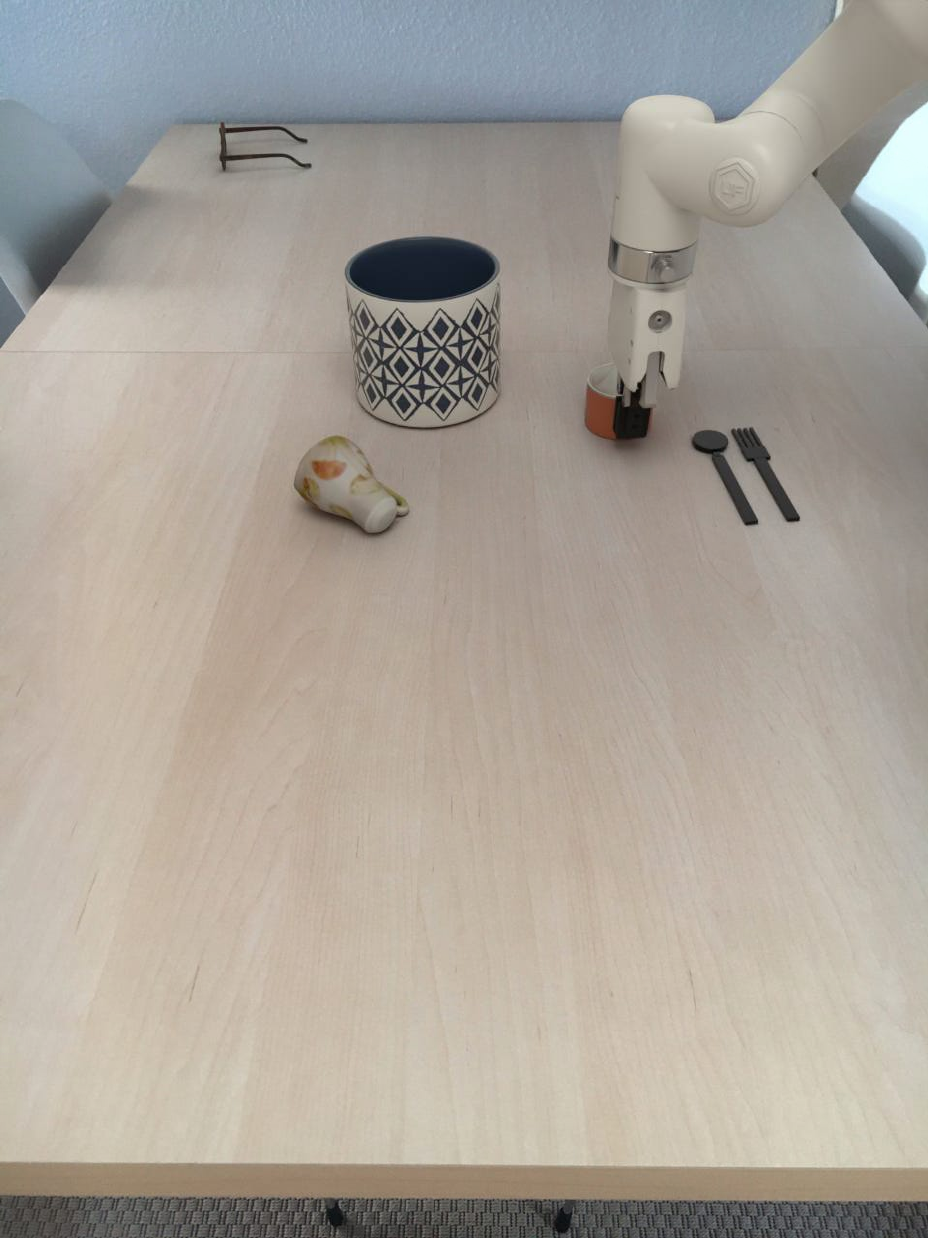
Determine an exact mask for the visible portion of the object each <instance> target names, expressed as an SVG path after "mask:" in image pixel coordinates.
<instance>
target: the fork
mask: <svg viewBox="0 0 928 1238" xmlns="http://www.w3.org/2000/svg"><path fill="white" fill-rule="evenodd" d="M730 432H731V434H732V436H733V438H734V439H735V441H736V442H737V445H738V446H739V448H740V450H741V454H742V455H743V457H744V459H745V461H746V462H752V463H753V464H754V466H755V467H756V469H757V471H758V473H759V475H760V476H761V478H762V480H763V481H764V484H765V485H766V487H767V489H768V491H769V493H770V494H771V496H772V498H773V499H774V501H775V503H776V505H777V506H778V508H779V510H780V512H781V514H782V515H783V517H784V519H785V521H786V522H799V521H801V516H800V515H799V513H798V511H797V510H796V508H795V506H794V504H793V502H792V501H791V499H790V497H789V496H788V493H787V492H786V490H785V488H784V487H783V486H782V483H781V482H780V481H779V479H778V477H777V475H776V473H775V471H774V470H773V467H772V466H771V464H770V463H769V461H770V460H771V459H772V456H771V454H770V453H769V451H768V450H767V447H766V446H765V445H764V444H763V442H762V440H761V438H760V437H759V436H758V434H757V432H756V430H755V429H754V427H753V426H751V427H743V429H742V428H741V427H737V429H736V428H731V429H730Z"/></svg>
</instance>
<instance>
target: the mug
mask: <svg viewBox="0 0 928 1238" xmlns="http://www.w3.org/2000/svg"><path fill="white" fill-rule="evenodd" d="M293 487H294V489H295V491H296V492H297V493H298V494H299V495H300V497H301V498H302V499H303V500H304V501H305V502H306V503H308V505H310V506H312V507H313V508H315V509H317V510H320V511H323V512H326V513H329V514H333V515H336V516H340V517H344V518H347V519H349V520H350V521H353V522H354V523H355V524H357V525H358V526H359V527H360V528H362V529H363V530H364V531H365V532H366V533H368V534H369V533H370V534H373V533H381V532H383V531H385V530H386V529H387V528H388V527H390V525H392V523H393V522H394V520H395V518H396V517H397V515H398V516H401V517H402V516H406V515H407V514H408V513H409V511H410V504H409V502H408V501H407V500H406V499H405V498H404V497H403V496H402V495H400V494H398V493H396V492H395V491H394V490H392V489H390V488H389V487H387V486H386V485H384V484H383V483H382V482H380V480H378V479H377V477H376V475H375V473H374V470H373V469H372V466H371V464H370V462H369V460H368V458H367V456H366V455H365V453H364V451H363V450H362V449H361V447H359V446H358V445H357V444H356V443H355V442H354V441H352V440H350V439H349V438H347V437H345V436H342V435H331V436H328V437H325V438H323V439H322V440H320V441H318V442H317V443H315V444H314V445H313V446H311V447H310V448H309V449H308V450H307V452H305V454H304V455H303V456H302V458H301V460H300V462H299V464H298V467H297V469H296V471H295V475H294V481H293Z"/></svg>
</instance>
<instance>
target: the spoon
mask: <svg viewBox="0 0 928 1238" xmlns="http://www.w3.org/2000/svg"><path fill="white" fill-rule="evenodd" d="M691 440H692V441H691V444H692V447H693V448H694V449H695V450H696V451H699V452H701V453H704V454H710V455H711V461H712V462H713V465H714V466H715V468H716V470H717V473H718V475H719V477H720V478H721V481H722V482H723V484H724V486H725V488H726V490H727V492H728V494H729V496H730V498H731V500H732V502H733V503H734V505H735V508H736V510H737V512H738V513H739V515H740V516H741V520H742V521H743V524H744V525H745V526H749V525H750V526H751V525H759V519H758V517H757V515H756V513H755V511H754V510H753V508H752V506H751V504H750V502H749V500H748V498H747V496H746V494H745V492H744V491H743V489H742V487H741V485H740V483H739V481H738V479H737V478H736V475H735V473H734V472H733V470H732V468H731V466H730V464H729V462H728V460H727V459H726V456H725V454H721V453H723V452H725V451H726V450H727V449H728V447H729V441H730V440H729V438H728V436H727V435H726V434H724V433H723V432H720V431H718V430H713V429H704V430H699V431H697V432H695V433H694V435H693V437H692V439H691Z"/></svg>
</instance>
